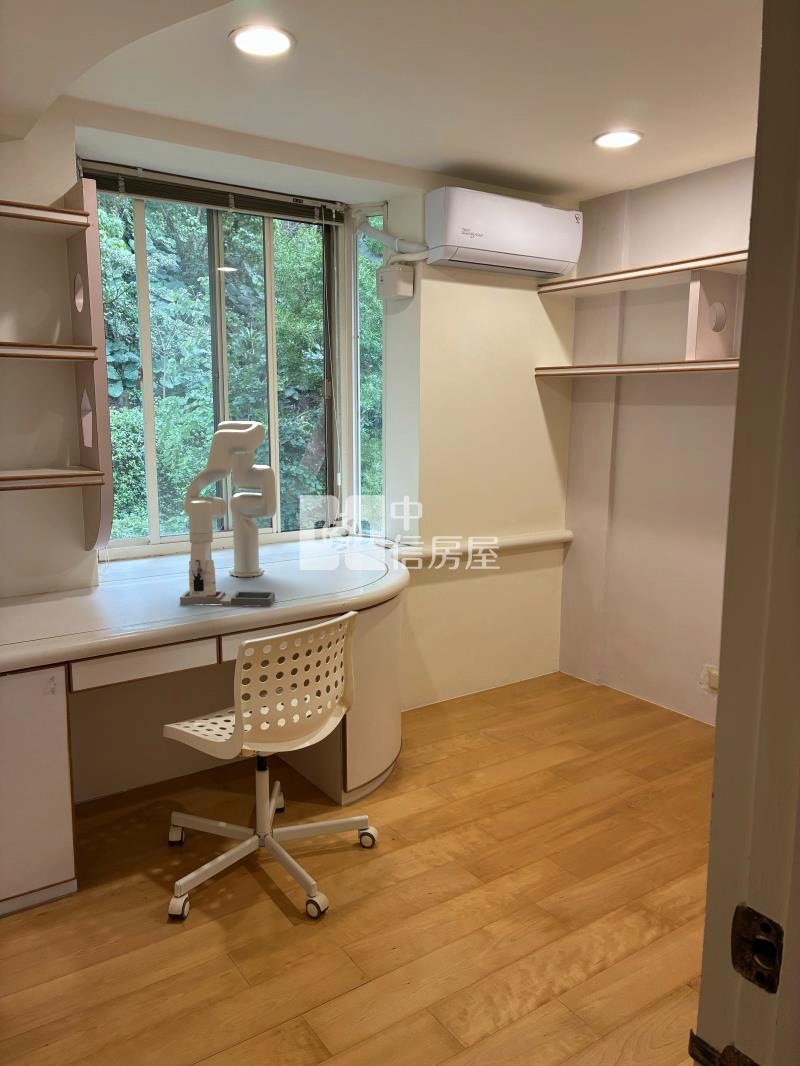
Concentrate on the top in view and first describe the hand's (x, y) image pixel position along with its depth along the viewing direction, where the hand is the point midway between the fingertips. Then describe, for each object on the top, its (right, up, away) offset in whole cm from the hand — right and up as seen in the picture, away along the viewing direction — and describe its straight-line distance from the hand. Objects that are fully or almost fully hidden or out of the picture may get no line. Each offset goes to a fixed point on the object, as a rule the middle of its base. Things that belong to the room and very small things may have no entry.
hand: (202, 587), depth 266 cm
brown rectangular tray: (0, -5, +1) cm, 5 cm away
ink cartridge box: (0, -5, +1) cm, 5 cm away
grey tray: (+15, -5, +1) cm, 16 cm away
